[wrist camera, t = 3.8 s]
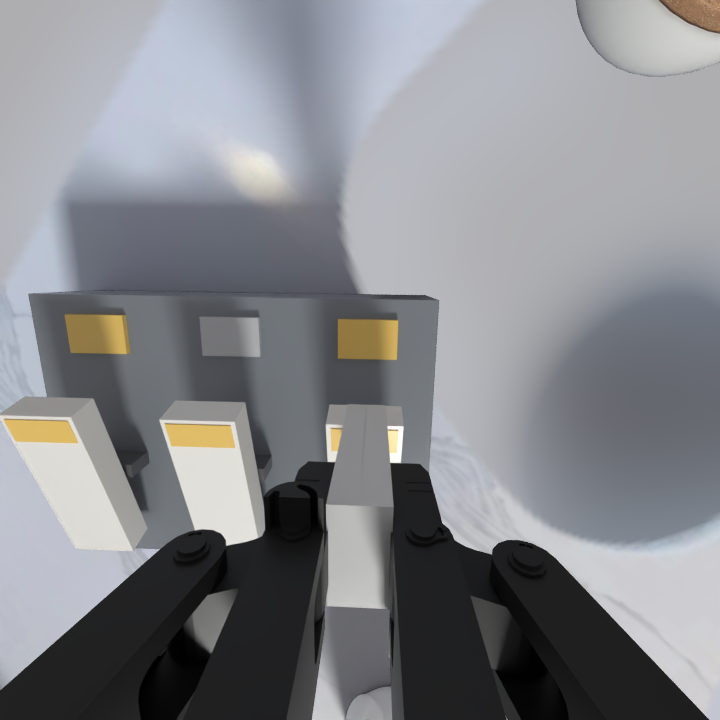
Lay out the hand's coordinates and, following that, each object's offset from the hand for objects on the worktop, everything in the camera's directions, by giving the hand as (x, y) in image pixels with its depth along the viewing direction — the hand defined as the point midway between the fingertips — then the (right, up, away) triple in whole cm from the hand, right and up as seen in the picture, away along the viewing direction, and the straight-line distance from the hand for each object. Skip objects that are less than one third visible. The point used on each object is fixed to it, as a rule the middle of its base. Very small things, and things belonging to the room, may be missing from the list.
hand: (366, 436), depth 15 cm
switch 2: (-7, -3, +3) cm, 8 cm away
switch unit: (-7, 0, +10) cm, 12 cm away
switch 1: (-14, -3, +4) cm, 15 cm away
